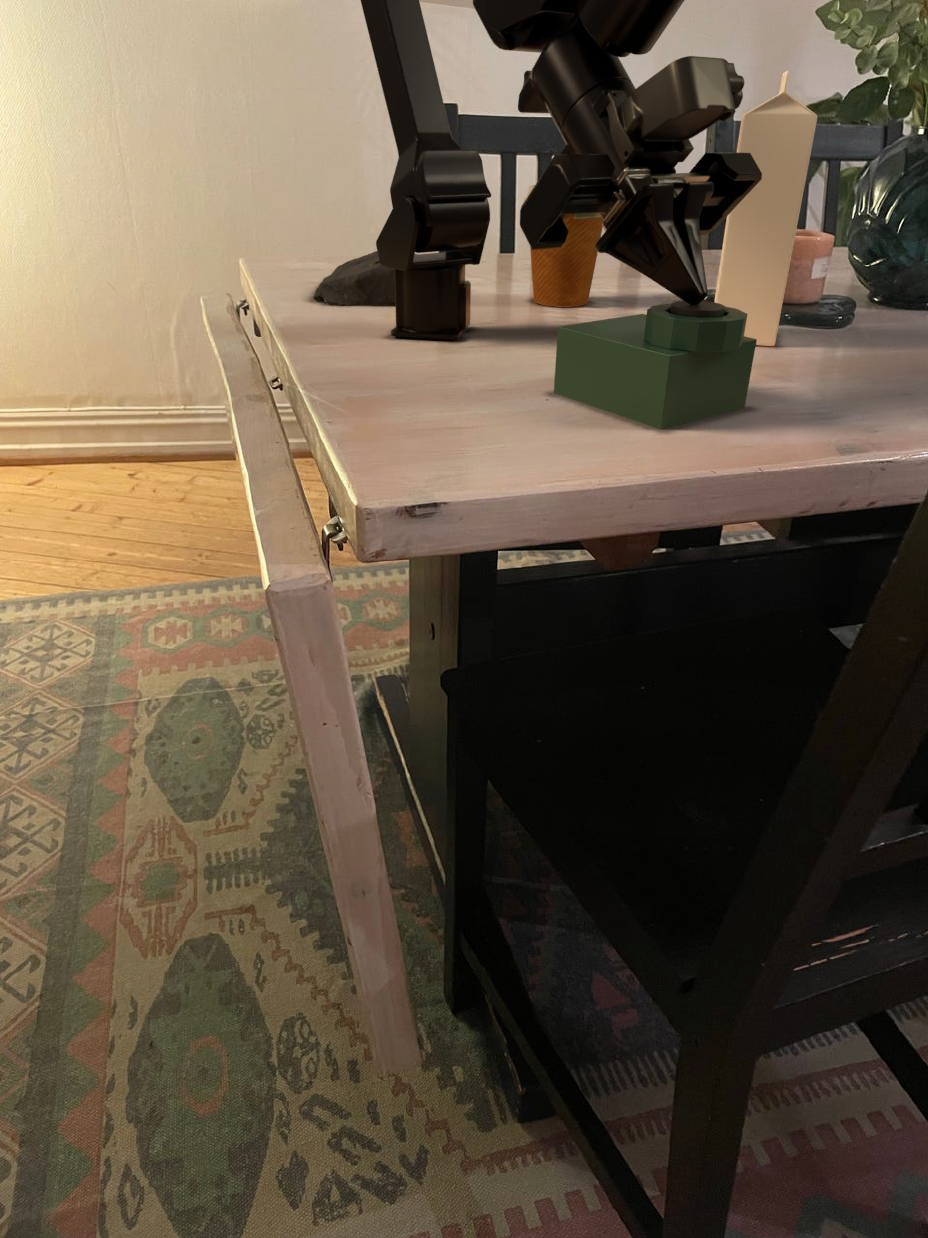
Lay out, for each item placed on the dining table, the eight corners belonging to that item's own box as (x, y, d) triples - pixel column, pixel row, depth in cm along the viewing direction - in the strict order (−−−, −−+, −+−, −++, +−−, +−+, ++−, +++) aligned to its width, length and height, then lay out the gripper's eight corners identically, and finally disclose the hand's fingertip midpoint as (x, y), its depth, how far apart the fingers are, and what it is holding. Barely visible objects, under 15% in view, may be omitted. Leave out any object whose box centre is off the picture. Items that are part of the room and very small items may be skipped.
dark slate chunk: (444, 275, 116) (444, 237, 113) (446, 306, 97) (446, 260, 94) (330, 274, 115) (327, 236, 113) (309, 305, 96) (306, 259, 94)
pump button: (656, 334, 60) (659, 303, 59) (690, 328, 62) (694, 298, 61) (696, 343, 57) (701, 311, 56) (731, 337, 59) (736, 306, 58)
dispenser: (553, 393, 66) (559, 297, 63) (635, 376, 71) (645, 286, 67) (674, 435, 58) (690, 327, 54) (758, 412, 62) (777, 312, 59)
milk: (709, 343, 82) (748, 69, 71) (709, 330, 87) (746, 73, 76) (776, 347, 81) (826, 69, 70) (772, 333, 86) (818, 72, 75)
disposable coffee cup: (615, 300, 101) (625, 186, 95) (579, 312, 94) (588, 190, 88) (543, 292, 105) (549, 182, 99) (504, 303, 98) (508, 186, 92)
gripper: (558, -7, 49) (683, 220, 47) (762, 17, 59) (874, 206, 56) (473, 148, 58) (574, 344, 56) (661, 147, 68) (754, 314, 66)
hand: (699, 300), depth 58 cm, fingers closed, pressing on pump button
